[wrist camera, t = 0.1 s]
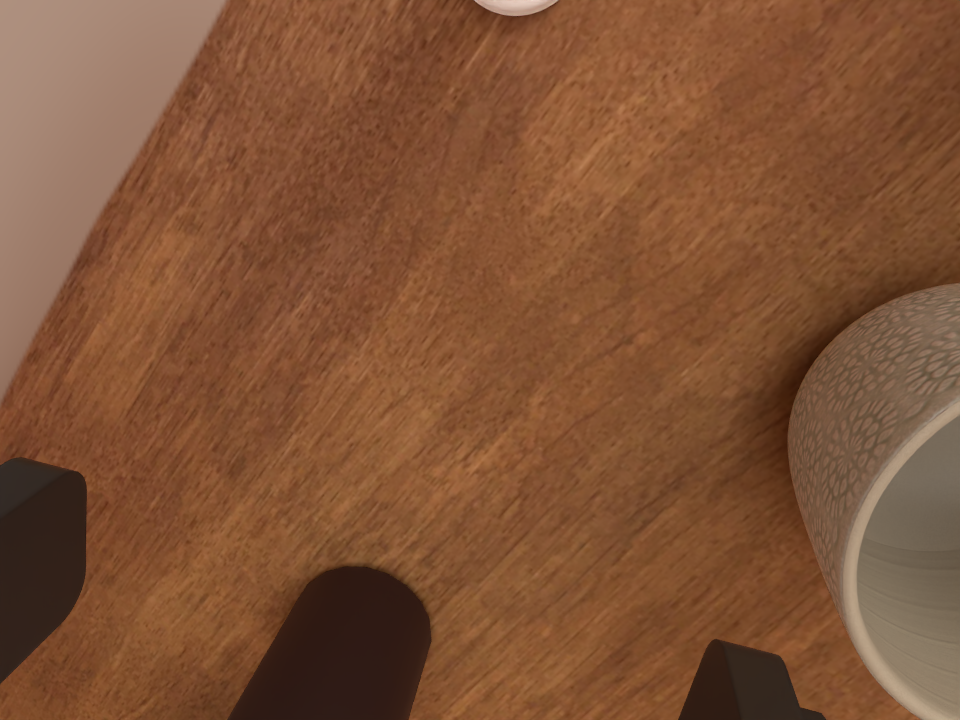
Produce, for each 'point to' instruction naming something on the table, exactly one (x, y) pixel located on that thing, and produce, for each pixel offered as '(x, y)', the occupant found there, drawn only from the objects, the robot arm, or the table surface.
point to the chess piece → (515, 6)
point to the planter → (889, 491)
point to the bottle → (343, 653)
